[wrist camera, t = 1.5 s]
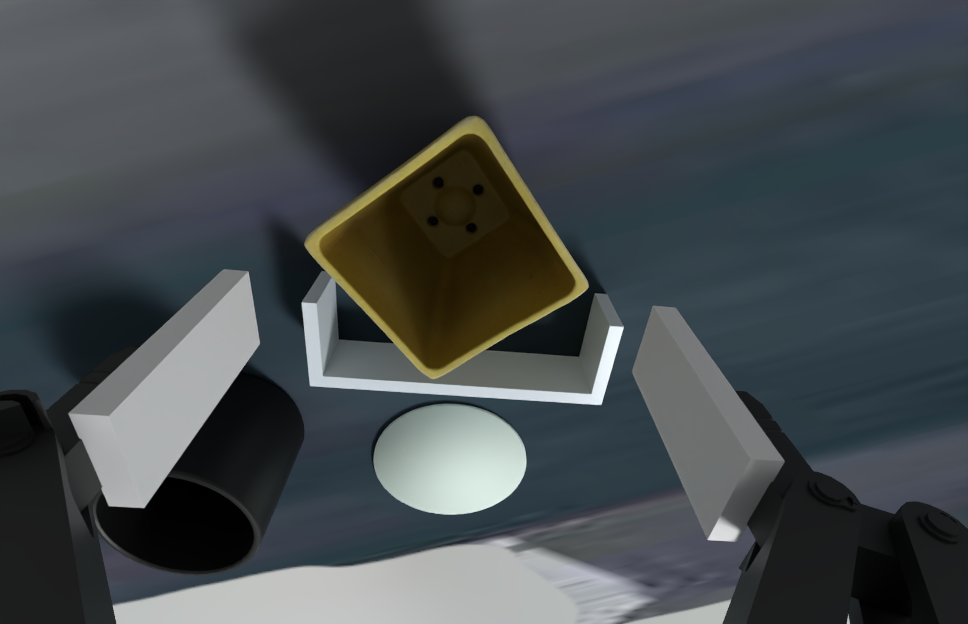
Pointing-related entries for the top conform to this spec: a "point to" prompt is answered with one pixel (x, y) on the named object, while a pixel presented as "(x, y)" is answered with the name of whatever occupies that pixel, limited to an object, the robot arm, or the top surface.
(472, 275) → the flower pot
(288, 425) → the mug
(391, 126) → the top surface
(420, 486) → the pad
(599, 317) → the bracket
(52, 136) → the top surface
